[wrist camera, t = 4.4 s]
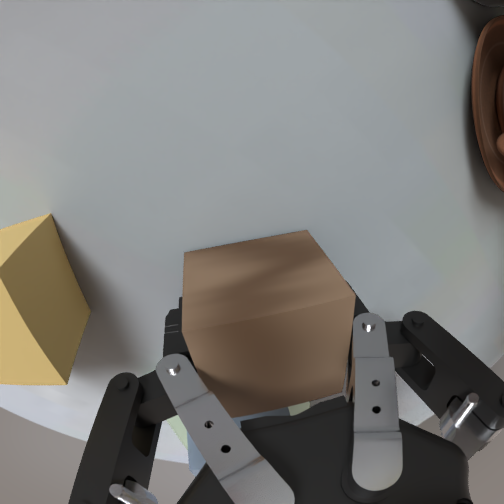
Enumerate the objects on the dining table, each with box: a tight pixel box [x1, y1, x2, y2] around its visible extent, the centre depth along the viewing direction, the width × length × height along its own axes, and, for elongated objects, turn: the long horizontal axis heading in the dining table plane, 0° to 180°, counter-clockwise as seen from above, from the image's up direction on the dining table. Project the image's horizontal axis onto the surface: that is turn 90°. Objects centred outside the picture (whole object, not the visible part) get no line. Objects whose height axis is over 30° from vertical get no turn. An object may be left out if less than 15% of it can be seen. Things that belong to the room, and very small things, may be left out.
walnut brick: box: [182, 230, 356, 418], centre depth 13 cm, size 6×6×5 cm
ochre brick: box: [0, 213, 91, 385], centre depth 10 cm, size 6×6×5 cm
